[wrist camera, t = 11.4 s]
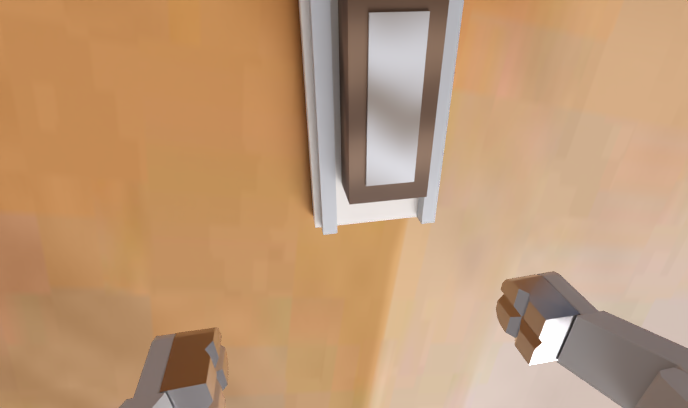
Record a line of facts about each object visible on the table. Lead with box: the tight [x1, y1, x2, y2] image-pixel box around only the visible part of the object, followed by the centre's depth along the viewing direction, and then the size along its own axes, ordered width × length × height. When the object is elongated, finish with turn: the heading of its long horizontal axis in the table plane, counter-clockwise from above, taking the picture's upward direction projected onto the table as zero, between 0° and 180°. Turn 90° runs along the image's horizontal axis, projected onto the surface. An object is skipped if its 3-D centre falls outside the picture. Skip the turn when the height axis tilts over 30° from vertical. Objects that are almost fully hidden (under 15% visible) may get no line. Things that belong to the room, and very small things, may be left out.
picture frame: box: [338, 0, 449, 205], centre depth 25 cm, size 14×6×4 cm, turn 1°
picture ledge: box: [299, 0, 464, 235], centre depth 26 cm, size 22×11×3 cm, turn 1°
